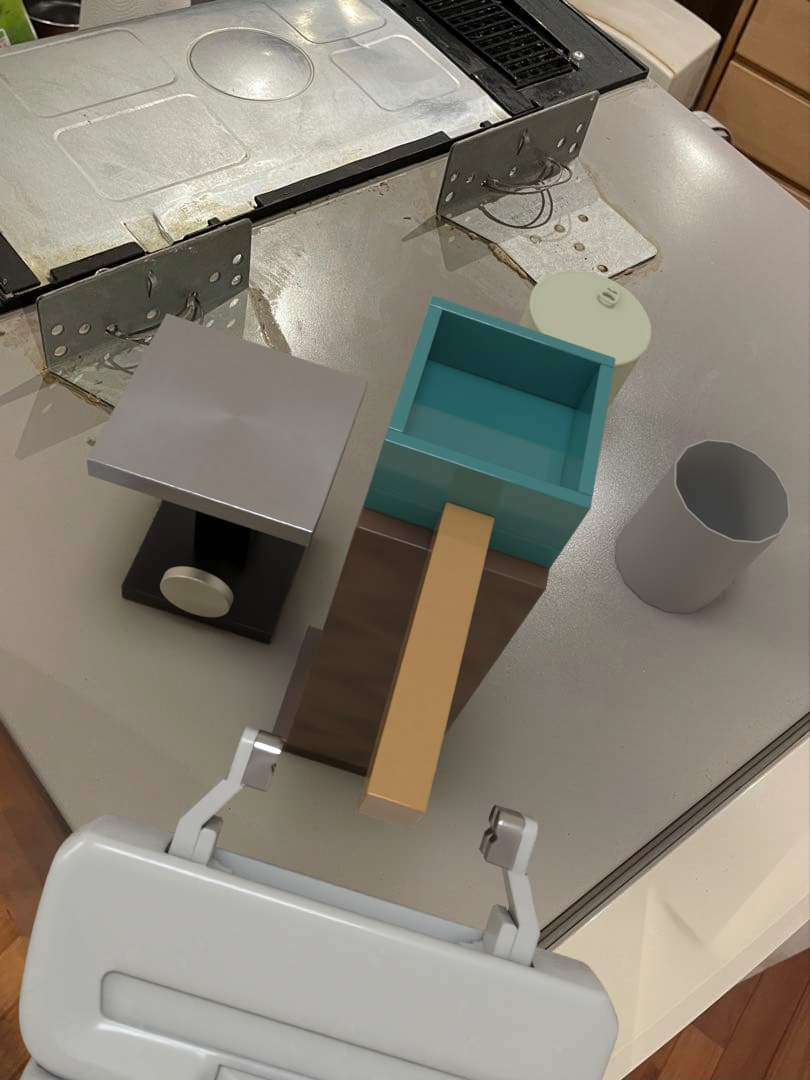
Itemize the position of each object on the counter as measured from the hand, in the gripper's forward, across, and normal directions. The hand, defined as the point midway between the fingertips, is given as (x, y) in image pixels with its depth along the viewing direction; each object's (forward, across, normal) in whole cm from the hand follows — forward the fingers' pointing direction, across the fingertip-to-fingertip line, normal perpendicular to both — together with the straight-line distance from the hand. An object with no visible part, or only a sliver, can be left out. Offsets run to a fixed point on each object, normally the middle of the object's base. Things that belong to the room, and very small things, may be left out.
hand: (391, 773), depth 35 cm
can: (+24, -7, +43) cm, 49 cm away
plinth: (-1, 0, +28) cm, 28 cm away
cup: (+15, -19, +38) cm, 45 cm away
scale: (+5, +12, +32) cm, 34 cm away
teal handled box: (+7, 0, +3) cm, 8 cm away
